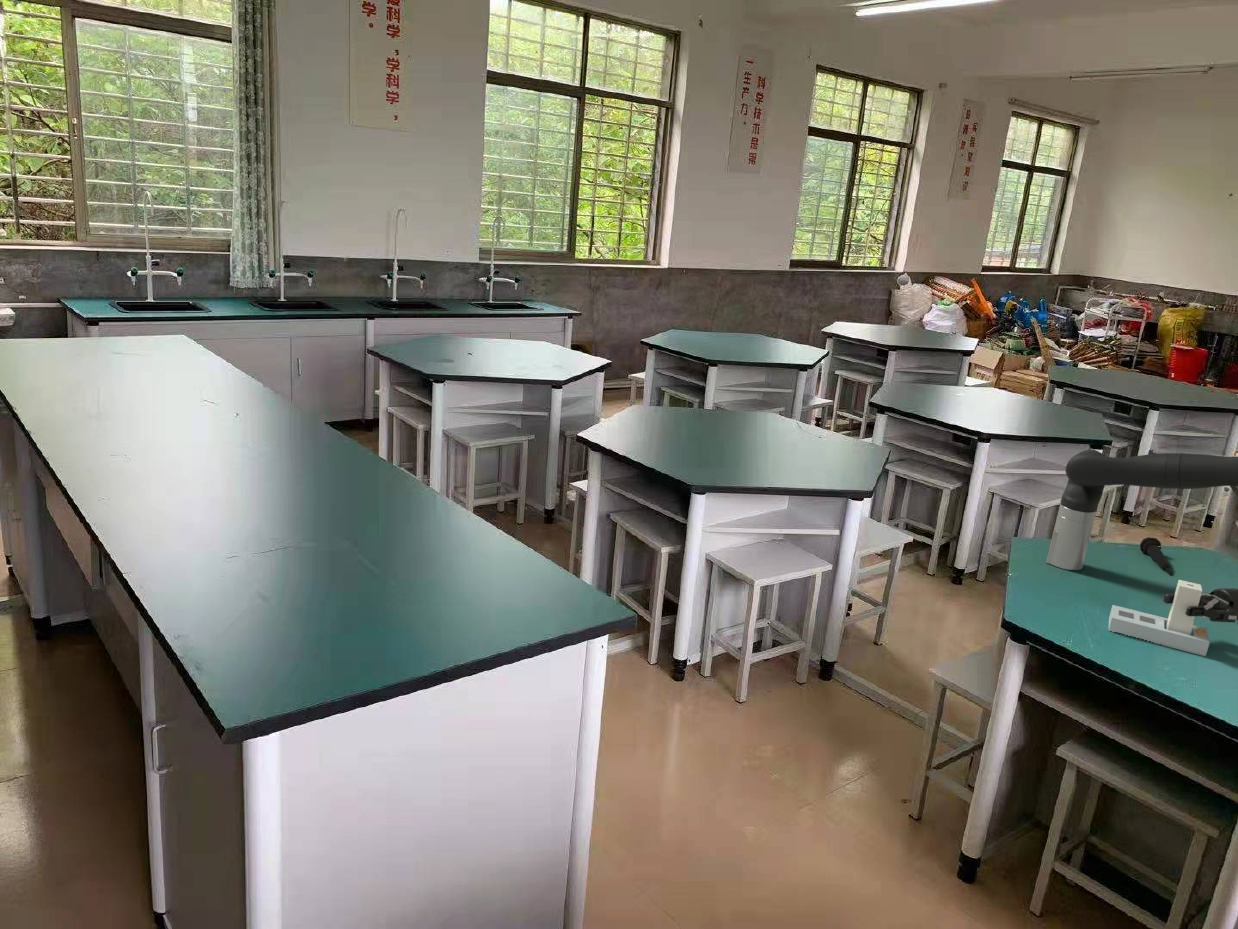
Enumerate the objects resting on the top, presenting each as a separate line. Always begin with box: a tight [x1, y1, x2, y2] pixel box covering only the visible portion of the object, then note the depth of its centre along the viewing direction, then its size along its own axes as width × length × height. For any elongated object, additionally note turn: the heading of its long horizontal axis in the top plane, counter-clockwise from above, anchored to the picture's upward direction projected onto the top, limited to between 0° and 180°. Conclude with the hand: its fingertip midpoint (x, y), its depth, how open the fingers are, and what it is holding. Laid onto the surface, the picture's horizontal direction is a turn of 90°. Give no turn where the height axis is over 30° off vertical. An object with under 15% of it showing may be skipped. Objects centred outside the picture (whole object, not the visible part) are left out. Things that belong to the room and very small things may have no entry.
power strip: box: [1108, 604, 1211, 657], centre depth 216 cm, size 20×9×4 cm, turn 61°
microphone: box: [1139, 536, 1173, 576], centre depth 266 cm, size 6×6×20 cm
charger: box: [1166, 579, 1203, 635], centre depth 212 cm, size 4×4×12 cm
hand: (1176, 605), depth 212 cm, fingers closed on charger, 6 cm apart
